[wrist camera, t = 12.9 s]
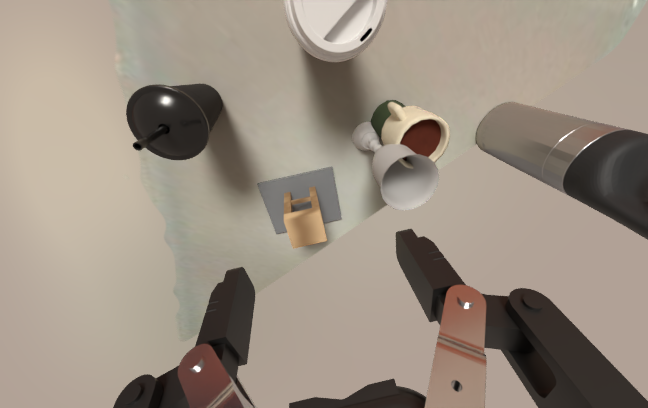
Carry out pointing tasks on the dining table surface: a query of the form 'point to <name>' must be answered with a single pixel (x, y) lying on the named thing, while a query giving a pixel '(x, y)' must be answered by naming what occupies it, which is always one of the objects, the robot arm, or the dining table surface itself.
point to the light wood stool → (304, 221)
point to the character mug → (411, 129)
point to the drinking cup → (173, 119)
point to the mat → (301, 195)
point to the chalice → (398, 170)
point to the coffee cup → (334, 26)
